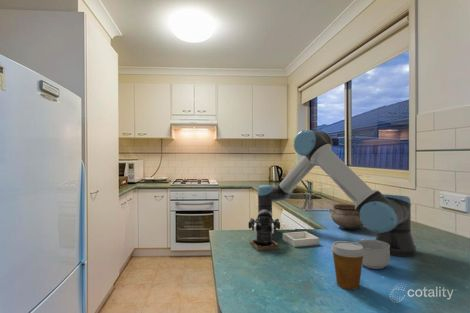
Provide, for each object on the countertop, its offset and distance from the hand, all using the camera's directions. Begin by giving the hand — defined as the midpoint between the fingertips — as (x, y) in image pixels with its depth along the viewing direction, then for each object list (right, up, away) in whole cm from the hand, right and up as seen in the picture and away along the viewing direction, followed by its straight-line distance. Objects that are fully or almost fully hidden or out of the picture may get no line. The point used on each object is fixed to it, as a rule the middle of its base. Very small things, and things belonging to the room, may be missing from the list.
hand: (263, 230), depth 118 cm
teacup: (+37, -8, -16) cm, 42 cm away
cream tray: (+18, -8, +10) cm, 22 cm away
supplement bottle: (+1, -8, +5) cm, 9 cm away
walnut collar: (+1, -8, +5) cm, 10 cm away
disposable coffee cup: (+22, -8, -33) cm, 40 cm away
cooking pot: (+50, -8, +35) cm, 62 cm away
